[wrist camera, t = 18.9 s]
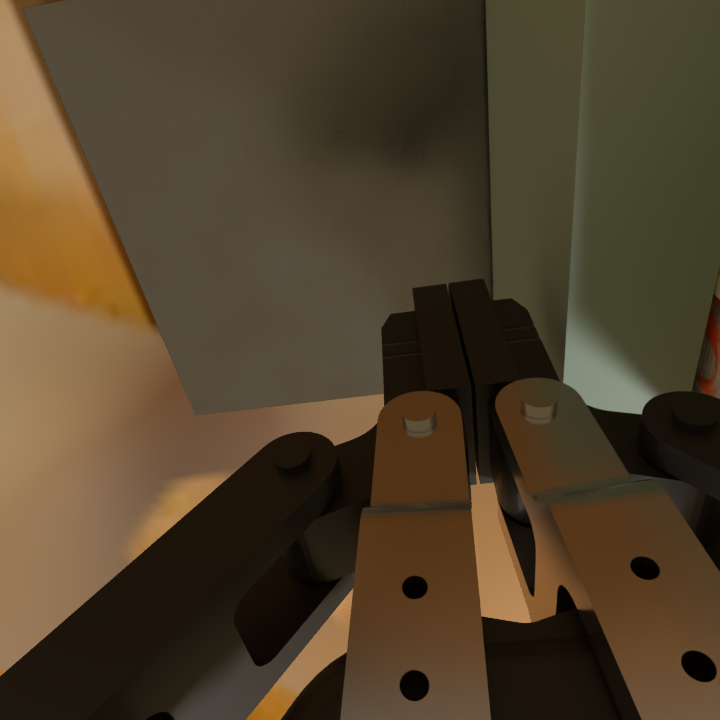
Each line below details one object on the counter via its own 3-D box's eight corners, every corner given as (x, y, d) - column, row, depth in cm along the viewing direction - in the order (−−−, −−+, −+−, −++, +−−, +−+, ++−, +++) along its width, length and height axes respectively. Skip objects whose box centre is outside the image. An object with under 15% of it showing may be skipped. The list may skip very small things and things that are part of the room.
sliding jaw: (590, -51, 14) (792, -55, 7) (565, 355, 21) (657, 542, 14) (484, -31, 14) (587, -17, 7) (495, 364, 21) (553, 552, 14)
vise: (1008, -184, 13) (1807, -354, 6) (823, 325, 21) (1064, 522, 14) (40, 5, 16) (-251, 52, 8) (201, 399, 24) (126, 600, 16)
